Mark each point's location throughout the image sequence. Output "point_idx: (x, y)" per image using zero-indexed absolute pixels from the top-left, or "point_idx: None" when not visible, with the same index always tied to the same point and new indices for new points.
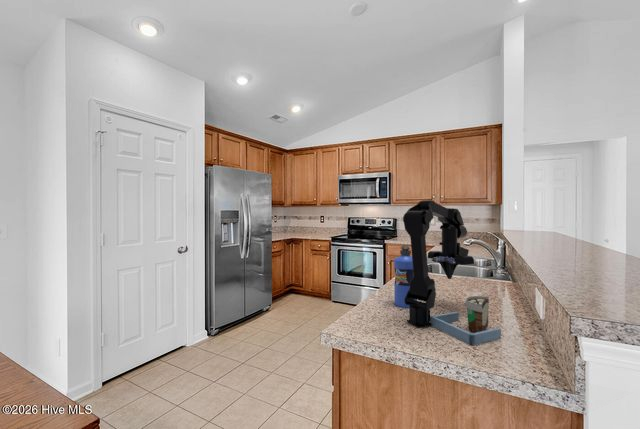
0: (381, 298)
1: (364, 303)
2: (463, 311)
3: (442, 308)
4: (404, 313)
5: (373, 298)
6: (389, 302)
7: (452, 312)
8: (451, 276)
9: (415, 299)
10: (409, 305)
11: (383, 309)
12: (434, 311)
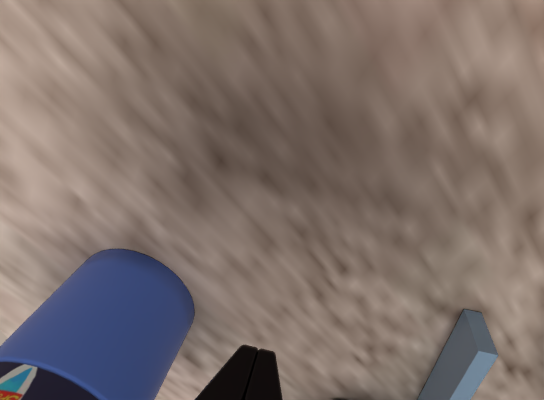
0: (12, 304)
1: None
2: (413, 138)
3: (281, 201)
4: None
5: (7, 327)
6: None
7: (466, 374)
8: (279, 396)
9: (170, 328)
10: (185, 335)
11: (162, 396)
12: (294, 279)
